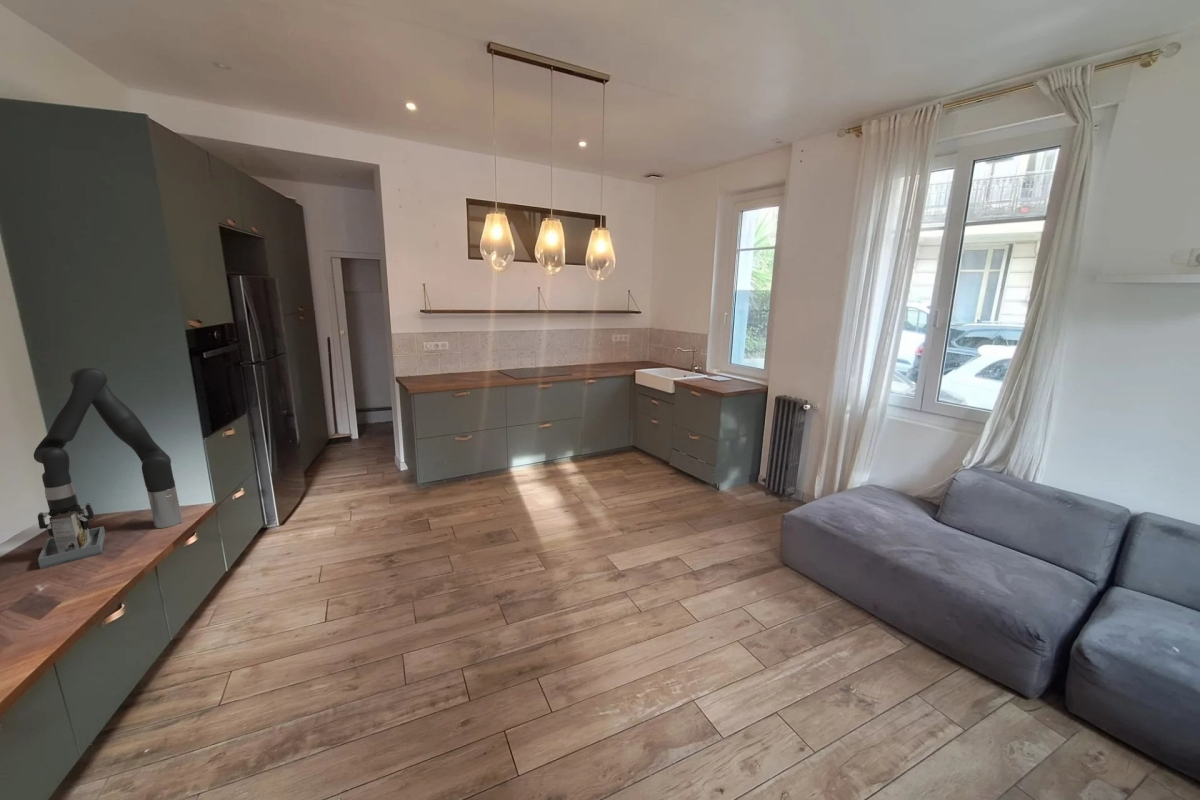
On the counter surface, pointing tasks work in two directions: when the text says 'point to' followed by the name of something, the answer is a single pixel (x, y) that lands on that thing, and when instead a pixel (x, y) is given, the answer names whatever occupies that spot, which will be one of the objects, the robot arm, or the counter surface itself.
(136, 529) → the counter surface
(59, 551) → the coffee box
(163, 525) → the robot arm
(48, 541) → the box
